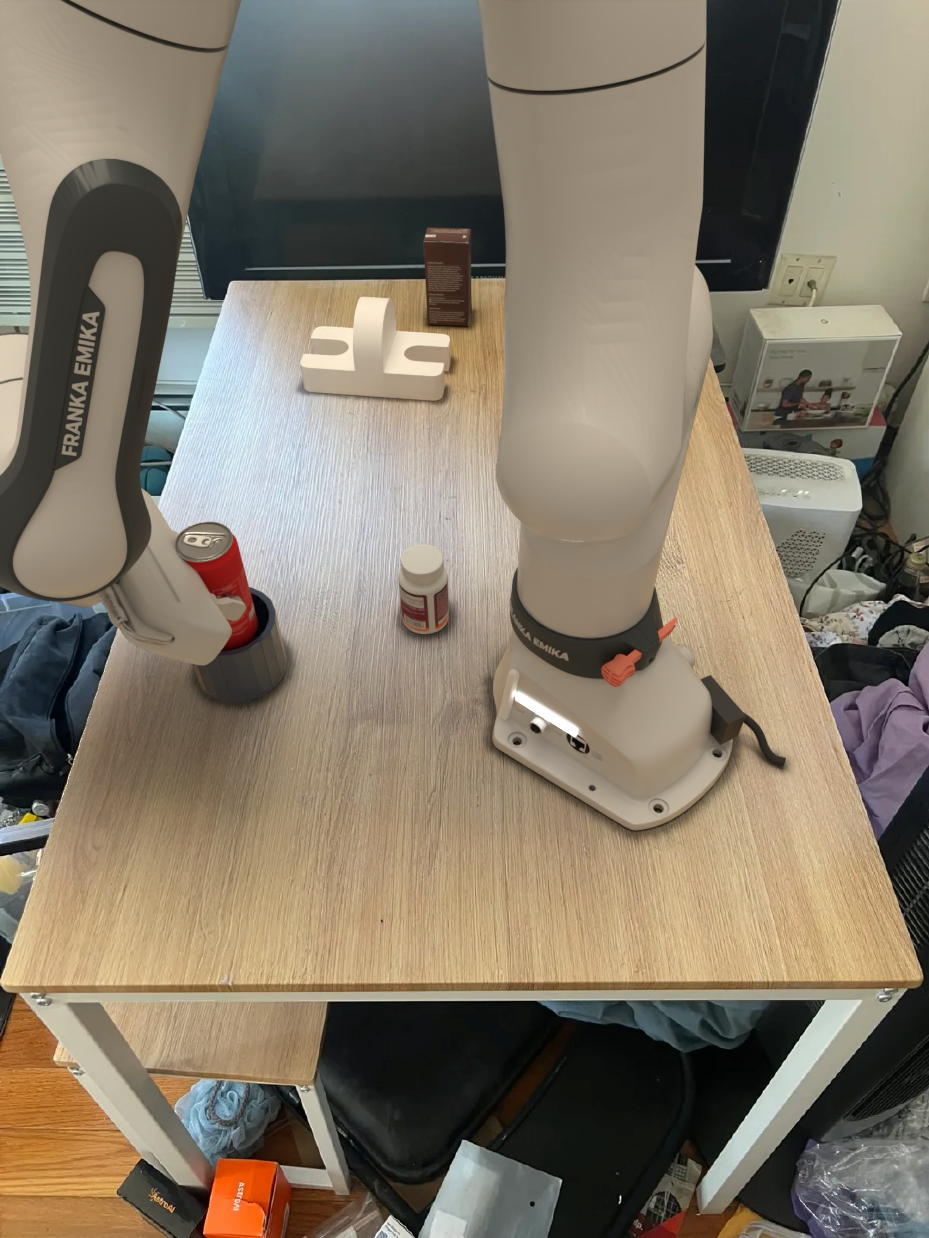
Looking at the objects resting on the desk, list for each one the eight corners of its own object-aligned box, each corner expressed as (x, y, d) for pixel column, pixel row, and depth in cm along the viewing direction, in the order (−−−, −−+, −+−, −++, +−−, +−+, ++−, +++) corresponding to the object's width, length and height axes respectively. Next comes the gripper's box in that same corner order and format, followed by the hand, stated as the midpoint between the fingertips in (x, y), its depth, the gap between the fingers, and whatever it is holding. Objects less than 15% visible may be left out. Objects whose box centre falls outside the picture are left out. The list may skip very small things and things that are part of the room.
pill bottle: (439, 594, 93) (437, 535, 87) (455, 627, 90) (455, 568, 84) (395, 607, 92) (389, 548, 86) (410, 641, 89) (406, 582, 83)
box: (471, 310, 129) (472, 227, 120) (468, 328, 126) (469, 243, 117) (429, 308, 129) (426, 225, 120) (425, 325, 126) (422, 241, 117)
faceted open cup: (304, 669, 87) (293, 621, 82) (229, 718, 83) (213, 671, 78) (254, 620, 91) (241, 571, 86) (181, 665, 87) (162, 617, 82)
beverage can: (248, 661, 81) (221, 567, 72) (193, 652, 82) (160, 558, 73) (267, 618, 85) (245, 523, 76) (215, 609, 85) (186, 515, 76)
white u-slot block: (441, 401, 115) (439, 328, 107) (302, 391, 116) (290, 319, 109) (451, 358, 121) (450, 287, 113) (319, 349, 123) (309, 278, 115)
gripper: (144, 601, 61) (296, 635, 72) (57, 440, 73) (199, 491, 83) (99, 670, 63) (254, 693, 74) (20, 502, 74) (165, 544, 85)
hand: (224, 584), depth 79 cm, fingers closed on beverage can, 5 cm apart
